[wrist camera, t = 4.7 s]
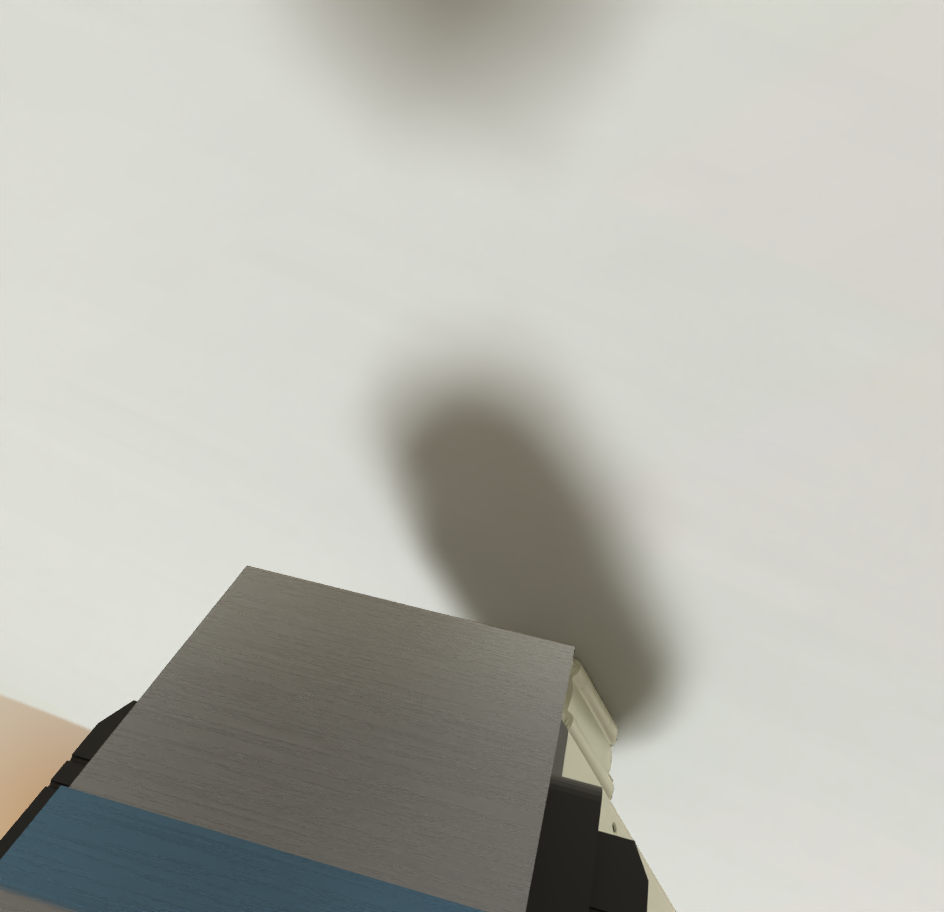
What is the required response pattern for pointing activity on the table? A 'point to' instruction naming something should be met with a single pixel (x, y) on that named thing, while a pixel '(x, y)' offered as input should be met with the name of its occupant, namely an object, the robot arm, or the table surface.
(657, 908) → the pneumatic valve
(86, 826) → the grey box with knob
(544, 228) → the table surface
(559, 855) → the robot arm
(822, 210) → the table surface
